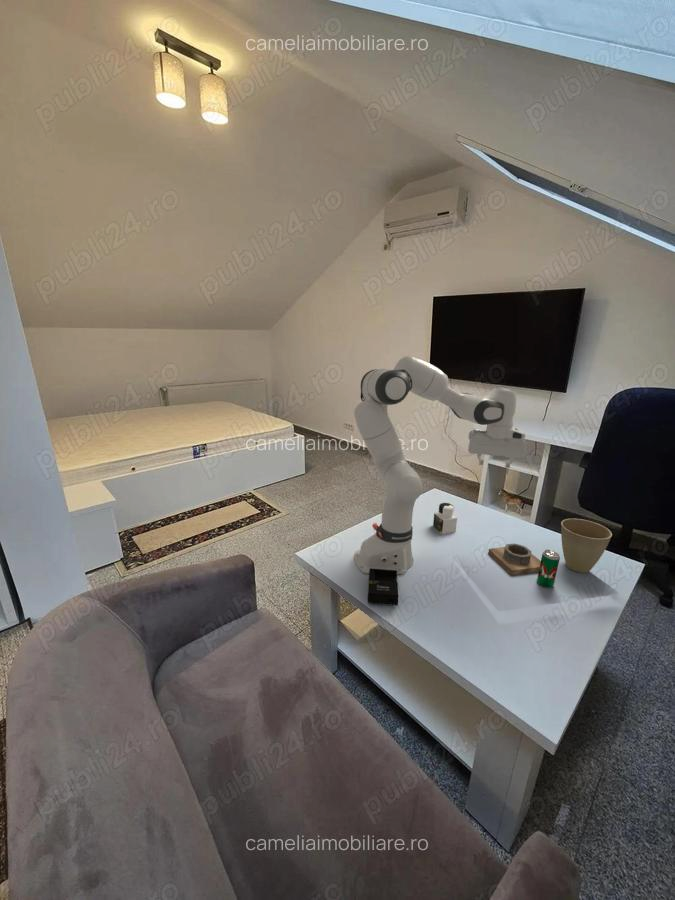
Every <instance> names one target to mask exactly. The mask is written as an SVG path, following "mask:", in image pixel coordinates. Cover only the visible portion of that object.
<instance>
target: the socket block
mask: <svg viewBox="0 0 675 900" xmlns="http://www.w3.org/2000/svg"><path fill="white" fill-rule="evenodd" d="M487 552H488V555H489V556H491V557H492V558H493V559H494V560H495V561H496V563H498V564H499V565H500V566H501V567H502V568H503V569H504V570H505V571H506V572H507V573H508V574H509V575H510V576H515V575H524V574H532V573H538V572H539V568H540V563H541V560H540V559H539V558H538V557H536V555H534V554H533V553H532V550H531V549H529V548H528V547H527V546H525V545H522V544H518V543H506V545H505V546H502V547H501V546H500V547H493V548H488V551H487Z"/></svg>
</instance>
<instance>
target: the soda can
mask: <svg viewBox="0 0 675 900" xmlns="http://www.w3.org/2000/svg"><path fill="white" fill-rule="evenodd" d="M540 559H541V560H540V561H541V563H540V568H539V572H537V578H536V581H537V583H538V584H539V585H540V586H541V587H544V588H553V587H554V586H555V581H556V577H557V572H558V569H559V564H560V559H561V558H560V554H559V552H557V551H555V550H553V549H545V550H543V552H542V555H541V557H540Z"/></svg>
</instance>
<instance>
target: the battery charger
mask: <svg viewBox="0 0 675 900" xmlns="http://www.w3.org/2000/svg"><path fill="white" fill-rule="evenodd" d="M367 604H376V605H386V606H396V607H397V606H398V605H399V582H398V574H397V570H385V569H372V568H370V571H369V574H368V589H367Z"/></svg>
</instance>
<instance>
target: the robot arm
mask: <svg viewBox="0 0 675 900" xmlns="http://www.w3.org/2000/svg"><path fill="white" fill-rule="evenodd" d="M409 392H410V393H413V394H414V395H417V396H418V397H421V398H423V399H426V400H429V401H433V402H434V401H438V402H440V403H441V404H443V405H445V406H447V407H449V409H450V410H451V411H452V413H453V414H454V415H455V416H456V417H457V418H458V419H461V420H465V421H467V422H468V421H469V422H471V423H474V424H477V425H480V426H486V427H485V428H486V429H473V430H471V431H469V433H468V440H469V442H468V447H467V448H468V449H467V451H468V453H469V454H474V455H476V457H477V458H478V465H479V466H484V462H485V461H484V459H481V457H482V455H485V456H486V455H487V456H495V457H497V456H498V457H507V458H508V457H509V461H508V462H507V461H506V462H505V468H507V469H510V468H511V465H512V463H514V462H515V458H517V459H521V458H522V459H523V458H525V457H526V456H527V442H526V440H525V438H526V434H525V432H524V431H523V430H522V429H520V428H517V427H514V422H513V420H514V419H513V418H514V415H515V413H516V406H517V394H516V392H515V391H514V390H513V389H510V388H505V387H498V386H497V387H494V388H493V389H492V390H491V391H490V392H489V393H487V394H485V395H483V396H480V395H479V396H478V395H474V394H472V393H468V392H458V391H457V390H455V389H453V388H451V387H450V386H449V377H448V375H447V374H446V373H444V372H443V370H441V369H440V368H439V367H437V366H436V365H434V364H431V363H429V362H428V361H425V360H423V359H420V358H417V357H414V356H411V355H405V356H403V357H401V358H400V359H399V360H398V361H397V363H395V366H394V367H393V369H385V368H380V369H379V368H378V369H375V368H374V369H371V370H369V371H367V372H366V373H365V374H363V376H362V378H361V380H360V400H361V402H360V403H358V404H357V405H356V407H355V408H354V411H353V415H354V419H355V422H356V426H357V429H358V432H359V433H360V436H361V438H362V441H363V442H364V444H365V447H366V449H367V450H368V452H369V454H370V457H371V458H372V461H373V463H374V466H375V469H376V471H377V472H378V475H379V477H380V479H381V481H382V482H383V484H384V485H385V488H386V498H385V500H384V502H383V504H382V506H381V507H382V508H381V523H380V524H379V525H378V524H377V522H375V523H373V524H372V526H371V527H372V528H373V530H374V531H375V533H374V534H372V535H371V536H369V537H368V538H366V539H364V540H363V541H362V543H361V545H360V549H357V550H356V551H354V555H353V557H354V562H355V566H356V567H357V568H358V570H359V571H360V572H361V573H363V574H366V575H367V574H368V575H369V571H370V568H372V569H385V570H397V575H404V574H405V575H406V573H407V571H408V569H409V568H410V567H412V566H413V564H414V556H413V551H412V540H413V533H414V532H413V526H412V524H413V513H414V506H415V502H416V501H417V500H418V499H419V498H420V497H421V495H422V492H423V491H424V490H423V488H424V486H423V482H422V480H421V477H420V475H419V474H418V473H417V471H416V470H415V469H413V468H412V466H411V465H410V464H409V462H408V461H407V460H406V458H405V455H404V452H403V448H402V443H401V440H400V438H399V436H398V434H397V432H396V429H395V427H394V425H393V423H392V421H391V418H390V417H389V414H388V406H393V405H398V404H399V403H401V402H403V401H405V399H406V398H407V396H408V394H409Z"/></svg>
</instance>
